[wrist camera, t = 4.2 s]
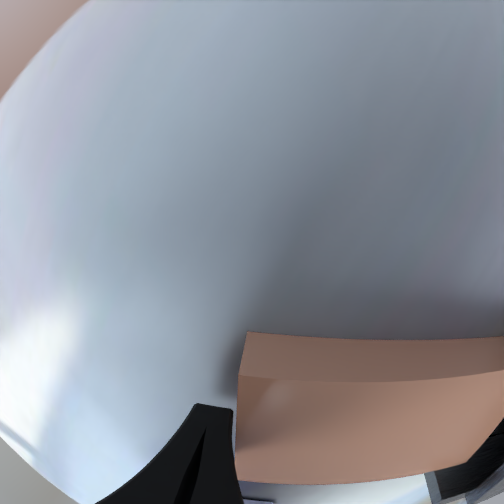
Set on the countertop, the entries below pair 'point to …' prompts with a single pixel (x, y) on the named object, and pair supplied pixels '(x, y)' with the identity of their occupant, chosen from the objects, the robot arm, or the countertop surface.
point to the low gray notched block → (471, 476)
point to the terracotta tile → (363, 406)
